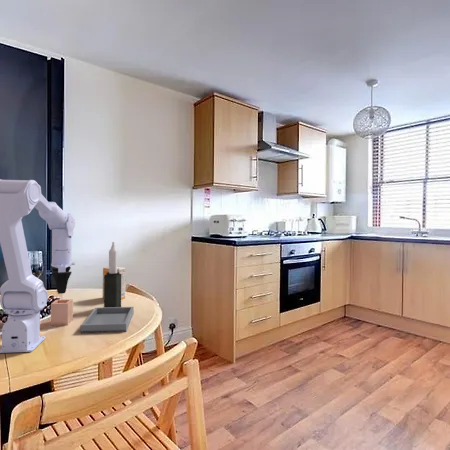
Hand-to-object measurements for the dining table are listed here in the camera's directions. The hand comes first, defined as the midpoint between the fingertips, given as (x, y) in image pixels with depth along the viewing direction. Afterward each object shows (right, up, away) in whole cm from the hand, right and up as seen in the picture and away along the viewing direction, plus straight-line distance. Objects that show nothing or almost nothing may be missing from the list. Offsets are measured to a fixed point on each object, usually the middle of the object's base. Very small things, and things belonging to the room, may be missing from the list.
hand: (61, 290), depth 107 cm
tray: (+16, -10, -1) cm, 19 cm away
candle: (+12, -10, +15) cm, 21 cm away
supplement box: (+8, -9, +28) cm, 31 cm away
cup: (+1, -10, -2) cm, 10 cm away
